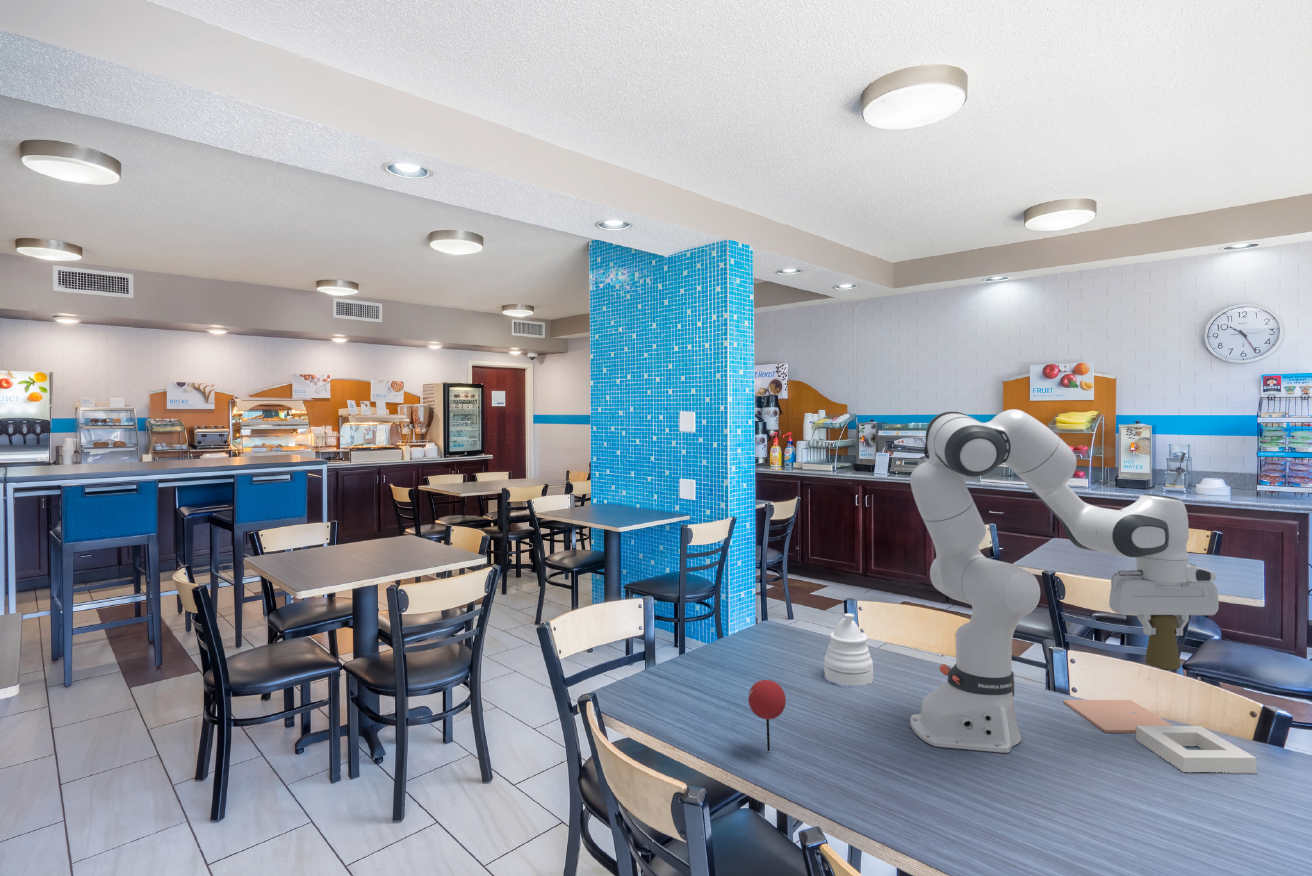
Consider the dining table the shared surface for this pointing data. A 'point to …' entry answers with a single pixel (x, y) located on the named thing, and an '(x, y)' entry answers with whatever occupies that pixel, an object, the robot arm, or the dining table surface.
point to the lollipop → (767, 701)
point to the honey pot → (848, 655)
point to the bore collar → (1211, 759)
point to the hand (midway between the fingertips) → (1163, 635)
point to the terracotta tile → (1115, 715)
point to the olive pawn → (1163, 643)
